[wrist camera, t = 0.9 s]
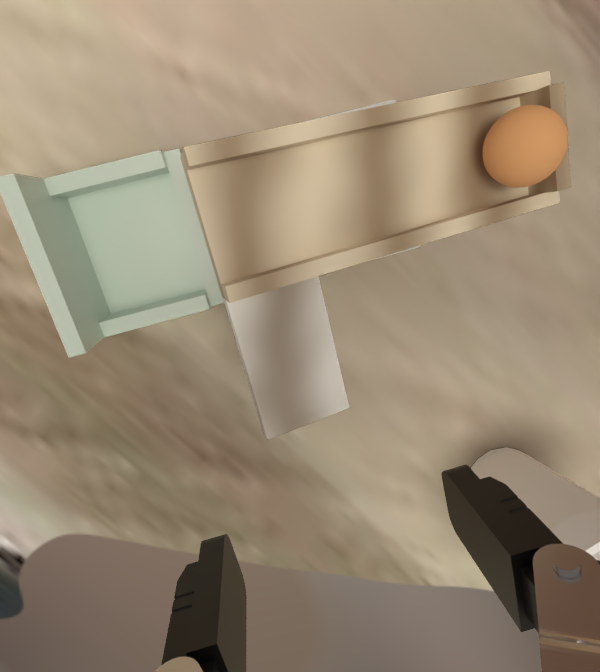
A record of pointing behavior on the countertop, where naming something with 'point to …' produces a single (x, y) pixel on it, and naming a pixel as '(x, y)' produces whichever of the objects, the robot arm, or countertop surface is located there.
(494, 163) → the ball
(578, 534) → the foam cup
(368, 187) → the board
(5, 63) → the countertop surface
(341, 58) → the countertop surface
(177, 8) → the countertop surface
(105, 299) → the bin
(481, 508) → the robot arm
